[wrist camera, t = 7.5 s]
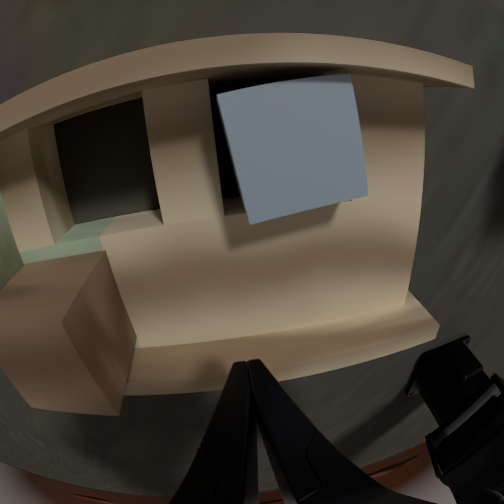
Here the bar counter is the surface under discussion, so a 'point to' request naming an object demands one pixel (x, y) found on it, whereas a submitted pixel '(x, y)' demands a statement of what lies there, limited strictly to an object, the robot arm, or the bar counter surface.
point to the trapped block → (294, 145)
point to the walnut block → (67, 335)
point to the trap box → (236, 212)
